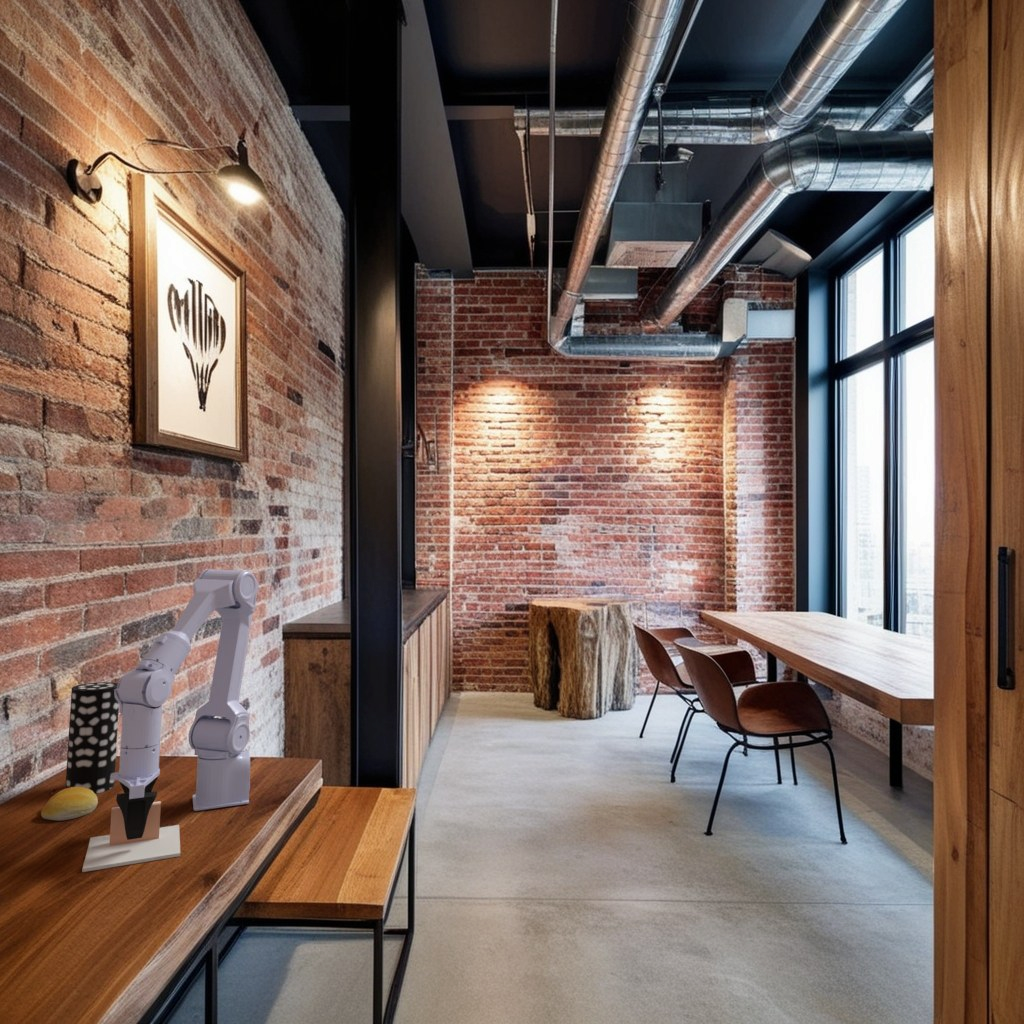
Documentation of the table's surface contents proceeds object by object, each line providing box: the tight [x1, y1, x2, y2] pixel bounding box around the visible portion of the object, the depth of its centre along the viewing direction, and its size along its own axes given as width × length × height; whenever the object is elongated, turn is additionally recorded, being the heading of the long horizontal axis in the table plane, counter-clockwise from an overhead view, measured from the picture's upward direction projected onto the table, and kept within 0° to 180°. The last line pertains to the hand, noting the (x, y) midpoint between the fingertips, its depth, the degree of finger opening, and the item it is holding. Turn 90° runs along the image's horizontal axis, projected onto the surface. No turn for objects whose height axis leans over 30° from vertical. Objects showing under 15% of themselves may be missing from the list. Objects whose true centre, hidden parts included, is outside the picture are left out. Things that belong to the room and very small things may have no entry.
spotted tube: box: [64, 681, 120, 795], centre depth 135 cm, size 8×8×20 cm
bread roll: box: [40, 787, 99, 822], centre depth 122 cm, size 8×9×4 cm
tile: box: [109, 800, 162, 846], centre depth 110 cm, size 7×1×6 cm, turn 117°
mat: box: [81, 824, 181, 873], centre depth 108 cm, size 13×12×1 cm
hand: (135, 829), depth 110 cm, fingers open, 7 cm apart
